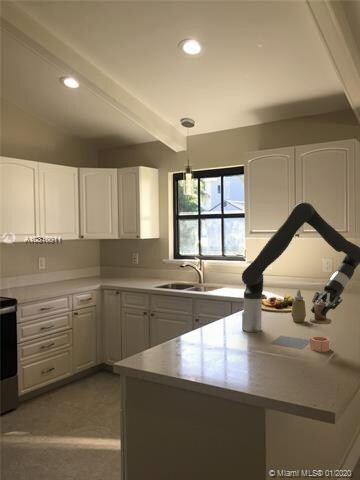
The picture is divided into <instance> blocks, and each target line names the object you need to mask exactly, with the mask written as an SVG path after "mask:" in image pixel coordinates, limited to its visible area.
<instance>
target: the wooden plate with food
mask: <svg viewBox="0 0 360 480" xmlns="http://www.w3.org/2000/svg"><path fill="white" fill-rule="evenodd" d="M293 300H295V298H294V297H292V296H291V295H290V294H288V293H286V294H285V295H284V296H283V299H282V298H277V297H275V296H270V297H269V298H268V297H267V295H265V294H264V293H262V311H263V312H270V313H292V304H293Z"/></svg>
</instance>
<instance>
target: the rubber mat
mask: <svg viewBox="0 0 360 480" xmlns="http://www.w3.org/2000/svg"><path fill="white" fill-rule="evenodd" d="M308 344H310V339H306V338H299V337H291V336H287V335H279V336H278V337H277V338H275V339H274V340H273V341H271V342H270V343H269V345H275V346H280V347H286V348H293V349H298V350H303V349H304V348H305V347H307V345H308Z"/></svg>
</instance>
